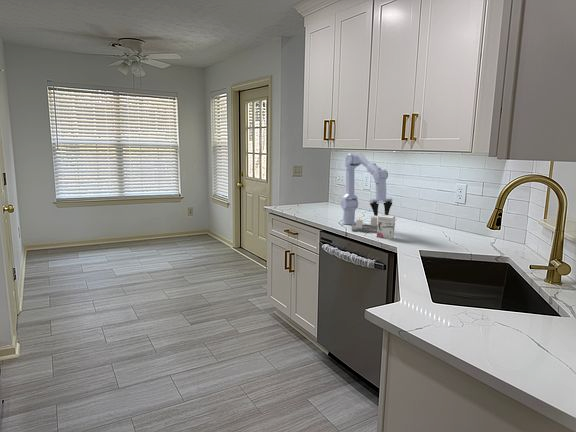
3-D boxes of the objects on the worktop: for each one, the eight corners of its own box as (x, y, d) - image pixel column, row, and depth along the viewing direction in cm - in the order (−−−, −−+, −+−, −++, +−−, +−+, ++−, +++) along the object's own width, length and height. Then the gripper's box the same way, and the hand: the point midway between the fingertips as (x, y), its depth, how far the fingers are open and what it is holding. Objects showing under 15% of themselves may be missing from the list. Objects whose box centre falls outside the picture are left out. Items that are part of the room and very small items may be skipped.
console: (351, 225, 251) (351, 223, 250) (383, 227, 248) (383, 225, 248) (351, 231, 234) (352, 229, 234) (385, 233, 231) (385, 231, 231)
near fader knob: (355, 226, 240) (356, 217, 239) (361, 226, 240) (362, 218, 239) (355, 228, 236) (356, 219, 235) (362, 228, 235) (362, 219, 234)
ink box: (376, 237, 222) (377, 215, 220) (378, 235, 226) (380, 214, 224) (392, 239, 218) (393, 217, 216) (394, 237, 222) (395, 216, 220)
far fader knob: (370, 224, 248) (371, 216, 247) (376, 224, 247) (376, 216, 246) (370, 226, 243) (371, 217, 242) (376, 226, 243) (377, 218, 242)
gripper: (374, 191, 222) (375, 216, 223) (395, 190, 228) (396, 214, 229) (367, 191, 228) (367, 215, 229) (387, 190, 234) (388, 214, 235)
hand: (381, 215), depth 229 cm, fingers open, 7 cm apart
